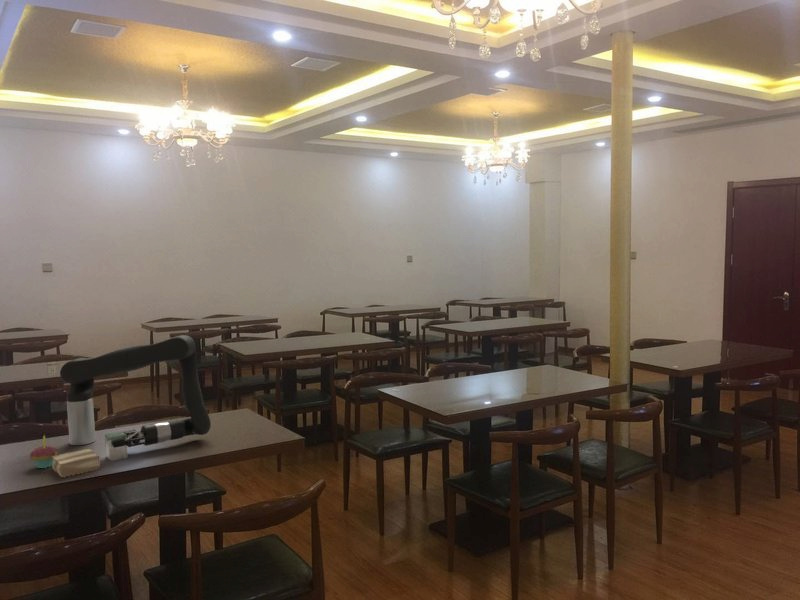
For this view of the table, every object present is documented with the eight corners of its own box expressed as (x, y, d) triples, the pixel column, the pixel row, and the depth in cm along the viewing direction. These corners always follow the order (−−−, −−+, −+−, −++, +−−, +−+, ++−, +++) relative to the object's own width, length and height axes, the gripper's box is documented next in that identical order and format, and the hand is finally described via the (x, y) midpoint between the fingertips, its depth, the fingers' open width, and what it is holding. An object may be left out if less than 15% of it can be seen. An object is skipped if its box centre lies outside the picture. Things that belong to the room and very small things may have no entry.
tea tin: (106, 457, 236) (104, 434, 235) (123, 453, 240) (122, 431, 239) (109, 461, 231) (108, 437, 231) (127, 457, 235) (126, 434, 234)
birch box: (52, 470, 224) (51, 456, 223) (89, 462, 232) (88, 448, 231) (61, 478, 215) (60, 464, 214) (100, 470, 223) (99, 455, 222)
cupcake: (62, 465, 227) (59, 432, 226) (35, 472, 221) (33, 438, 220) (52, 461, 233) (50, 428, 232) (26, 467, 227) (24, 433, 226)
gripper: (150, 420, 249) (105, 427, 239) (161, 427, 237) (114, 436, 228) (151, 439, 249) (106, 447, 240) (162, 447, 238) (115, 456, 228)
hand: (110, 442), depth 234 cm, fingers open, 8 cm apart
